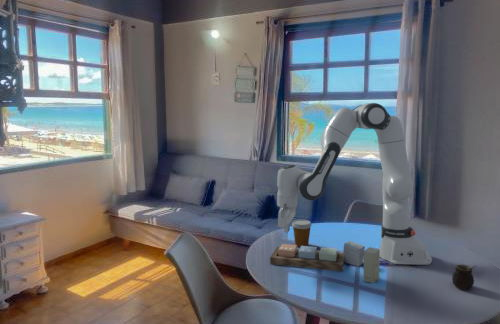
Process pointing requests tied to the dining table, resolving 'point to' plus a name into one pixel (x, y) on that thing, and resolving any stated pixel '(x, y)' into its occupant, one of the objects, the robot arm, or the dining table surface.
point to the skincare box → (371, 265)
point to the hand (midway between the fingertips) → (286, 231)
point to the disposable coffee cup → (301, 232)
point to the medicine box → (353, 253)
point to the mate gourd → (463, 277)
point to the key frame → (308, 261)
